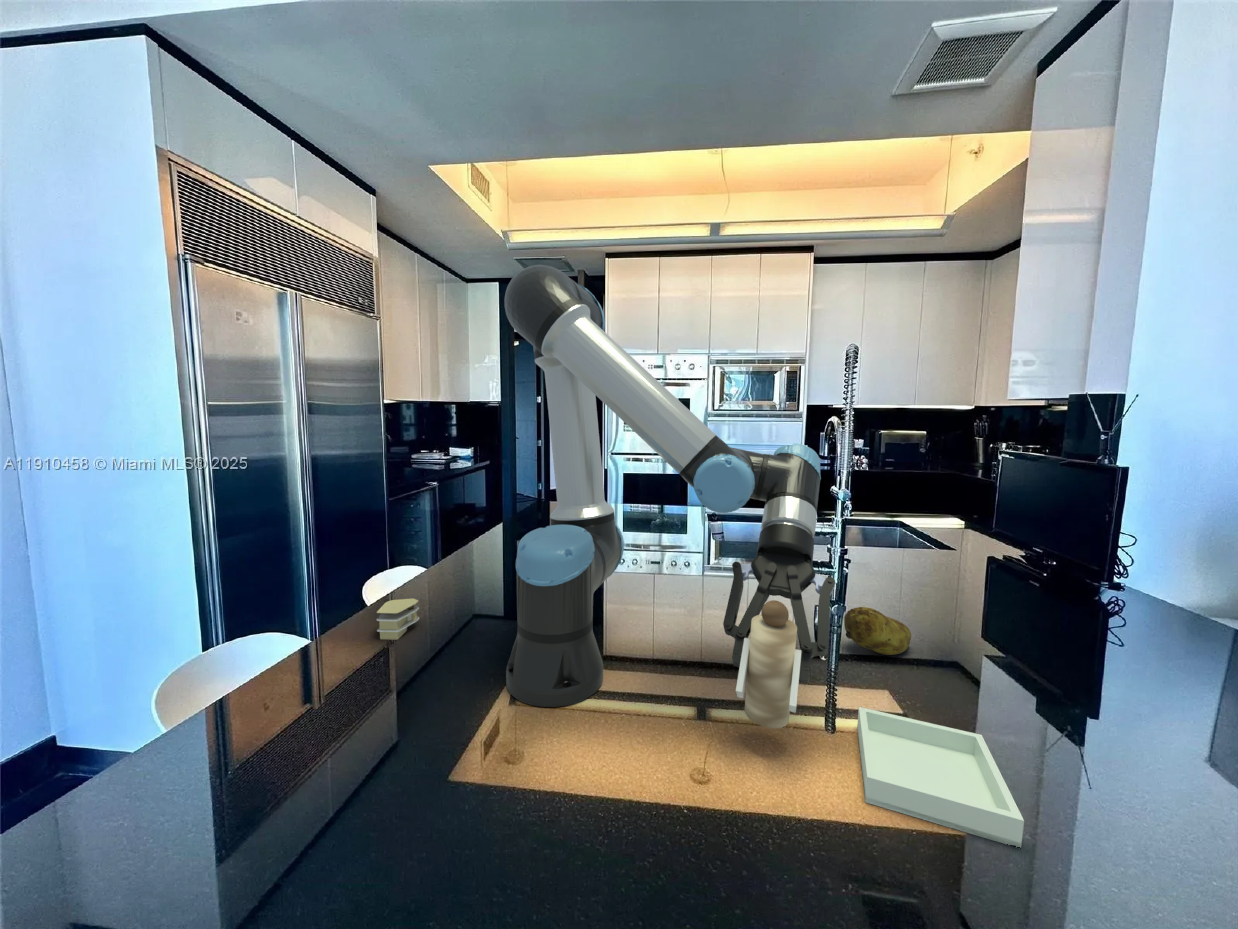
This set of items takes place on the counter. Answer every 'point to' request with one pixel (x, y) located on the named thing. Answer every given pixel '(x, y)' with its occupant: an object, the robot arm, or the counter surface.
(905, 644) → the potato
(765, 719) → the pepper mill
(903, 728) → the bin
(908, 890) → the counter surface
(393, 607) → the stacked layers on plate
